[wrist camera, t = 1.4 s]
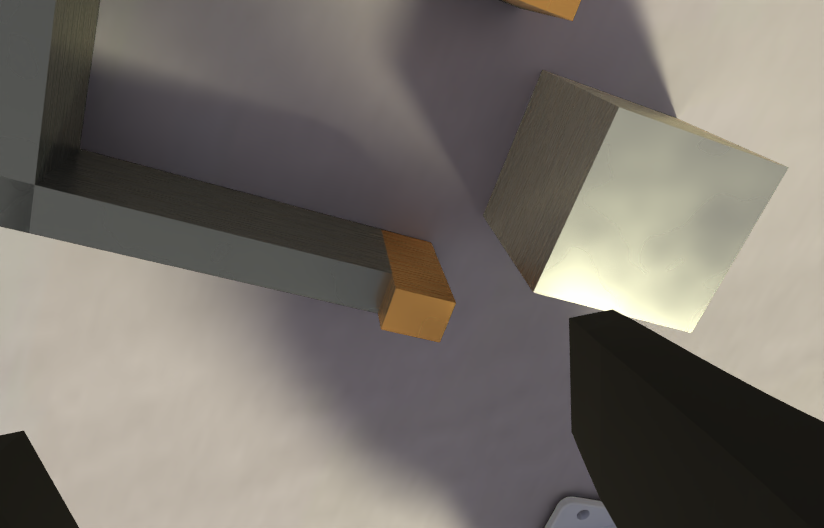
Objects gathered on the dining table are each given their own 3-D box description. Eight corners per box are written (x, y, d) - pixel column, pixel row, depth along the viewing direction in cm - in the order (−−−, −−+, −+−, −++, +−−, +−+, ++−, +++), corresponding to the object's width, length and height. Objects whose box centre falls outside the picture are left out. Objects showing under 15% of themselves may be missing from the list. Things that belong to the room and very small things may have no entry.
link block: (676, 117, 19) (788, 167, 14) (609, 251, 20) (691, 332, 16) (541, 69, 18) (619, 107, 13) (482, 214, 19) (533, 292, 15)
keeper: (538, -40, 16) (597, -39, 13) (418, 276, 20) (439, 342, 16) (-94, -299, 13) (-243, -394, 9) (-105, 145, 16) (-216, 195, 13)
